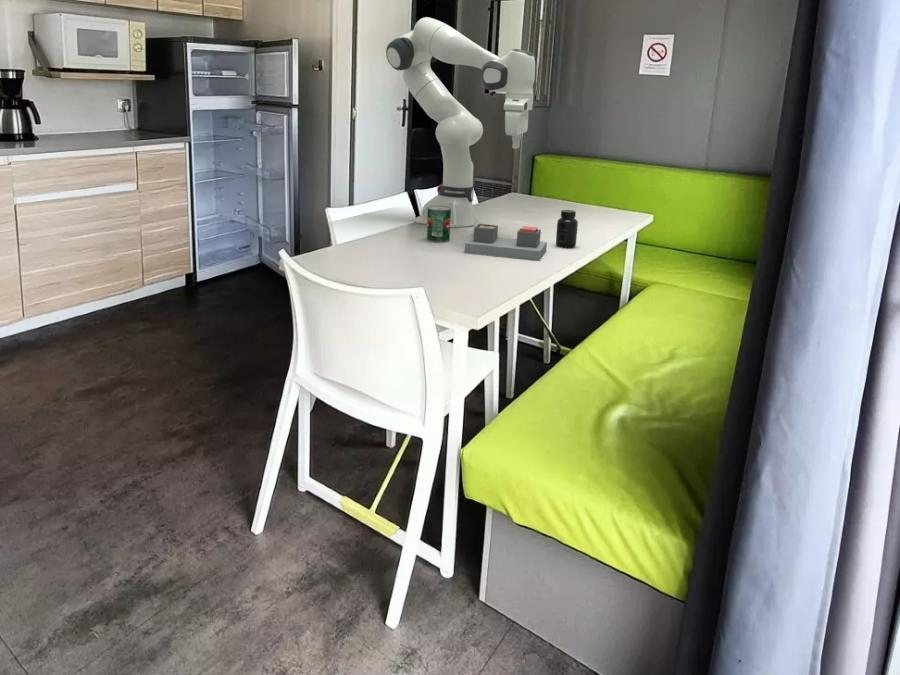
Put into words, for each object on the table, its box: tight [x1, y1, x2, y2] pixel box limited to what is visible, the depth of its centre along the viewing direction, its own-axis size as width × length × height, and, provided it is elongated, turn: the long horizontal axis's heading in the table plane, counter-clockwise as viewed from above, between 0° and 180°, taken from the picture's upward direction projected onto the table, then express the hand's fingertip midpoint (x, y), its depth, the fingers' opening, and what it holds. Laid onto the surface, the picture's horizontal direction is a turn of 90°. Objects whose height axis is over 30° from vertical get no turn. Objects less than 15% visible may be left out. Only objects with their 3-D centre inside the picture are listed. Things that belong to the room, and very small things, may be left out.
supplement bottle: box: [555, 209, 579, 249], centre depth 240 cm, size 7×7×12 cm
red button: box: [521, 226, 538, 233], centre depth 227 cm, size 4×4×4 cm
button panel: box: [464, 223, 548, 261], centre depth 230 cm, size 24×14×8 cm, turn 74°
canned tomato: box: [426, 206, 451, 243], centre depth 241 cm, size 8×8×11 cm
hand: (515, 148), depth 234 cm, fingers closed
